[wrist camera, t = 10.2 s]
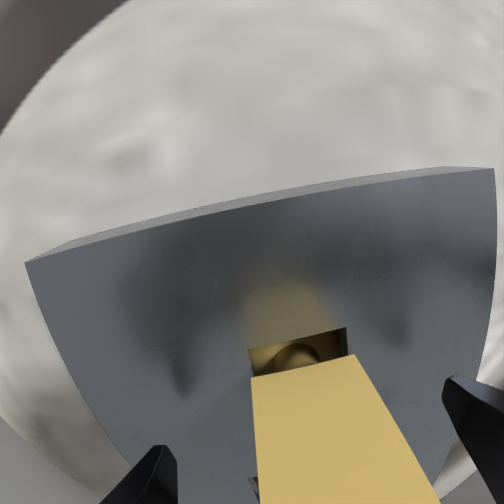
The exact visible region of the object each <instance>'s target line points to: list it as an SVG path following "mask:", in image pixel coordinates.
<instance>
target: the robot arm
mask: <svg viewBox="0 0 504 504" xmlns="http://www.w3.org/2000/svg"><path fill="white" fill-rule="evenodd" d="M441 399H442V403H443V405H444V407H445V409H446V411H447V413H448V415H449V417H450V419H451V422H452V424H453V426H454V428H455V430H456V432H457V435H458V436H459V438H460V440H461V441H462V443H463V445H464V446H465V448H466V450H467V452H468V453H469V455H470V457H471V458H472V460H473V462H474V464H475V465H476V467H477V469H478V471H479V472H480V474H481V476H482V478H483V480H484V481H485V483H486V485H487V487H488V489H489V491H490V493H491V495H492V496H493V498H494V500H495V502H496V504H504V391H503V390H500V389H497V388H495V387H492V386H489V385H486V384H483V383H480V382H477V381H474V380H472V379H469V378H466V377H463V376H460V375H457V374H455V375H452V376H450V377H448V378H447V379H446V380H445V383H444V387H443V391H442V396H441ZM100 504H178V472H177V461H176V458H175V457H174V455H173V454H172V452H171V451H170V449H169V448H168V446H166V445H154V446H152V447H151V449H150V450H149V451H148V452H147V453H146V454H145V455H144V456H143V457H142V459H141V460H140V461H139V462H138V463H137V464H136V465H135V466H134V467H133V468H132V470H131V471H130V472H129V473H128V474H127V475H126V476H125V477H124V478H123V479H122V480H121V481H120V483H119V484H118V485H117V486H116V487H115V488H114V489H113V490H112V491H111V492H110V493H109V494H108V495H107V496H106V497H105V498H104V499H103V500H102V501H101V502H100Z"/></svg>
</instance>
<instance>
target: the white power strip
mask: <svg viewBox="0 0 504 504" xmlns="http://www.w3.org/2000/svg"><path fill="white" fill-rule="evenodd" d="M440 503H441V504H496V502H495V500H494V498H493V496H492V495H491V493H490V491H489V489H488V487H487V485H486V483H485V481H484V480H483V478H482V476H481V474H480V472H479V471H478V470H477V471H476V472H475V473H474V474H473V475H471V476H470V477H469V478H468V479H467V480H466V481H464V482H463V483H462V484H461V485H460V486H458V487H457V488H456V489H455V490H453V491H452V492H451V493H450V494H448V495H447V496H446V497H444V498H443V499H442V500H440Z"/></svg>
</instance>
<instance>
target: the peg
mask: <svg viewBox="0 0 504 504" xmlns="http://www.w3.org/2000/svg"><path fill="white" fill-rule="evenodd" d="M250 350H251V354H252V358H253V362H254V366H255V370H256V374H257V377H252V378H251V389H252V403H253V417H254V430H255V444H256V457H257V470H258V482H259V495H260V504H441V503H440V501H439V499H438V497H437V495H436V493H435V492H434V490H433V488H432V486H431V484H430V482H429V481H428V479H427V477H426V475H425V473H424V471H423V470H422V468H421V466H420V464H419V463H418V461H417V459H416V457H415V455H414V454H413V452H412V450H411V448H410V447H409V445H408V443H407V441H406V440H405V438H404V436H403V434H402V433H401V431H400V429H399V428H398V426H397V424H396V422H395V421H394V419H393V417H392V416H391V414H390V412H389V411H388V409H387V407H386V406H385V404H384V402H383V400H382V399H381V397H380V395H379V394H378V392H377V390H376V389H375V387H374V386H373V384H372V382H371V381H370V379H369V377H368V376H367V374H366V372H365V371H364V369H363V367H362V366H361V364H360V363H359V361H358V359H357V358H356V356H355V355H354V354H352V355H349V356H345V357H341V358H340V348H339V334H338V329H336V330H332V331H328V332H324V333H320V334H316V335H312V336H307V337H303V338H299V339H294V340H290V341H285V342H280V343H276V344H271V345H266V346H261V347H256V348H251V349H250Z"/></svg>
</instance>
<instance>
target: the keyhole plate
mask: <svg viewBox="0 0 504 504" xmlns="http://www.w3.org/2000/svg"><path fill="white" fill-rule="evenodd" d="M496 253H497V203H496V186H495V175H494V168H478V167H435V168H426V169H417V170H409V171H401V172H393V173H386V174H379V175H371V176H365V177H358V178H351V179H345V180H339V181H332V182H326V183H320V184H315V185H309V186H303V187H298V188H292V189H287V190H281V191H276V192H271V193H266V194H261V195H256V196H251V197H246V198H241V199H236V200H231V201H227V202H222V203H217V204H213V205H208V206H204V207H200V208H195V209H191V210H187V211H182V212H178V213H174V214H170V215H166V216H162V217H157V218H153V219H149V220H146V221H142V222H138V223H134V224H130V225H126V226H123V227H119V228H115V229H111V230H108V231H104V232H101V233H97V234H93V235H90V236H86V237H83V238H80V239H76V240H73V241H70V242H67V243H65V244H63V245H61V246H58V247H56V248H54V249H52V250H50V251H48V252H45V253H43V254H41V255H39V256H37V257H35V258H33V259H31V260H29V261H27V262H24V263H25V266H26V270H27V273H28V276H29V279H30V282H31V285H32V288H33V291H34V293H35V296H36V299H37V301H38V304H39V307H40V309H41V312H42V314H43V317H44V319H45V322H46V324H47V326H48V329H49V331H50V333H51V335H52V338H53V340H54V342H55V344H56V346H57V348H58V350H59V352H60V355H61V357H62V359H63V361H64V363H65V364H66V366H67V368H68V370H69V372H70V374H71V376H72V378H73V380H74V381H75V383H76V385H77V387H78V388H79V390H80V392H81V394H82V395H83V397H84V399H85V400H86V402H87V404H88V405H89V407H90V409H91V410H92V412H93V413H94V415H95V416H96V418H97V420H98V421H99V423H100V424H101V426H102V427H103V429H104V430H105V431H106V433H107V434H108V436H109V437H110V439H111V440H112V441H113V443H114V444H115V445H116V447H117V448H118V450H119V451H120V452H121V454H122V455H123V456H124V457H125V459H126V460H127V461H128V463H129V464H130V465H131V466H132V468H133V467H134V466H135V465H136V464H137V463H138V462H139V461H140V460H141V459H142V457H143V456H144V455H145V454H146V453H147V452H148V451H149V450H150V449H151V447H152V446H154V445H166V446H168V448H169V449H170V451H171V452H172V454H173V455H174V457H175V458H176V461H177V472H178V504H260V495H259V490H258V488H257V485H256V483H255V481H254V479H253V477H256V476H258V470H257V457H256V444H255V430H254V417H253V403H252V389H251V378H252V377H257V374H256V370H255V366H254V362H253V358H252V354H251V350H250V349H251V348H256V347H261V346H266V345H271V344H276V343H280V342H285V341H290V340H294V339H299V338H303V337H307V336H312V335H316V334H320V333H324V332H328V331H332V330H336V329H338V334H339V348H340V358H341V357H345V356H349V355H352V354H354V355H355V356H356V358H357V359H358V361H359V363H360V364H361V366H362V367H363V369H364V371H365V372H366V374H367V376H368V377H369V379H370V381H371V382H372V384H373V386H374V387H375V389H376V390H377V392H378V394H379V395H380V397H381V399H382V400H383V402H384V404H385V406H386V407H387V409H388V411H389V412H390V414H391V416H392V417H393V419H394V421H395V422H396V424H397V426H398V428H399V429H400V431H401V433H402V434H403V436H404V438H405V440H406V441H407V443H408V445H409V447H410V448H411V450H412V452H413V454H414V455H415V457H416V459H417V461H418V463H419V464H420V466H421V468H422V470H423V471H424V473H425V475H426V477H427V479H428V481H429V482H430V484H431V486H433V484H434V482H435V480H436V479H437V477H438V475H439V473H440V471H441V469H442V467H443V465H444V463H445V461H446V458H447V456H448V454H449V452H450V450H451V447H452V445H453V443H454V440H455V438H456V436H457V432H456V430H455V428H454V426H453V424H452V422H451V419H450V417H449V415H448V413H447V411H446V409H445V407H444V405H443V403H442V399H441V396H442V391H443V387H444V383H445V380H446V379H447V378H448V377H450V376H452V375H455V374H457V375H460V376H463V377H466V378H469V379H472V380H474V381H476V378H477V374H478V370H479V366H480V363H481V358H482V354H483V350H484V345H485V341H486V336H487V331H488V325H489V319H490V313H491V306H492V299H493V291H494V281H495V269H496Z"/></svg>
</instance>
